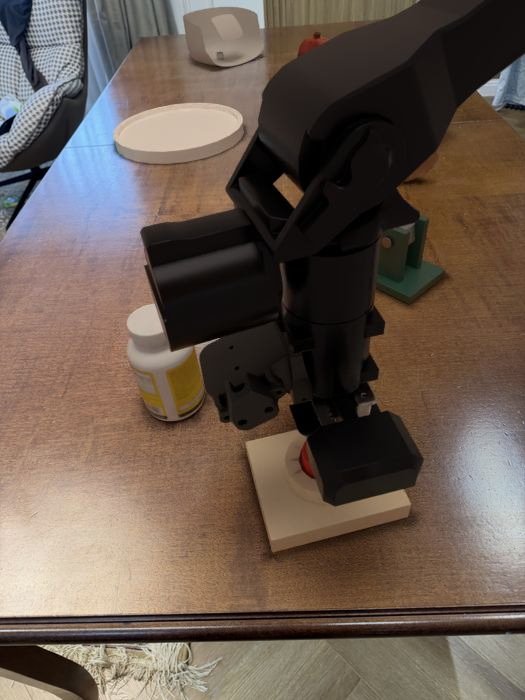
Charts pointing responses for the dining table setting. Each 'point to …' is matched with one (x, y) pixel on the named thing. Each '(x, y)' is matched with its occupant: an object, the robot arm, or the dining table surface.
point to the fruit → (311, 43)
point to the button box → (308, 497)
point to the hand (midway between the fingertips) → (324, 444)
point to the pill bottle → (163, 368)
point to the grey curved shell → (223, 35)
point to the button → (306, 460)
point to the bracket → (406, 263)
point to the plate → (178, 133)
